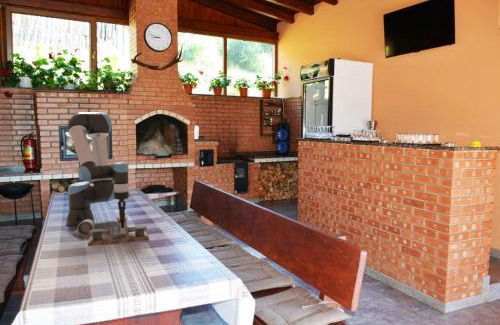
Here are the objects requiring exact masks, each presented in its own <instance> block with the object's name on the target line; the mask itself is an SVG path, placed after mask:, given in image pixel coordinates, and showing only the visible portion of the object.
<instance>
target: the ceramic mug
mask: <svg viewBox="0 0 500 325" xmlns="http://www.w3.org/2000/svg"><path fill="white" fill-rule="evenodd" d="M93 229H96V223H95V221H94V222H93V221H92V220H89V219H87V220H84V221H83V222H81V223H80V224H79V225H78V226H77V229H75V230H74V231H72V234H73V235H74V236H75V235H77V234H79V235H80V236H82V237H87V236H90V235H89V230H93Z"/></svg>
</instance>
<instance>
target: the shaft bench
mask: <svg viewBox="0 0 500 325" xmlns="http://www.w3.org/2000/svg"><path fill="white" fill-rule="evenodd" d="M147 230H148V228H147V225H143V224H141V225H139V224H138V225H134V226H128V225H127V226H126V234H120V233H119V234H118V233H117V234H112V227H111V226H109V227H108V228H104V229H102V228H94V229H93V230H89V235H88V236H89V237H88V241H87V246H99V245H108V244H120V243H131V242H140V241H141V242H144V241H149V240H150V239H149V235H148V232H147Z"/></svg>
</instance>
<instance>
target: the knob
mask: <svg viewBox="0 0 500 325" xmlns="http://www.w3.org/2000/svg"><path fill="white" fill-rule="evenodd" d="M119 220H120V217H119V216H118V217H116V222H117V232H118V233H120V222H119ZM127 221H128V217H127V216H125V231H126V226H128V222H127Z"/></svg>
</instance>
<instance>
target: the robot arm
mask: <svg viewBox="0 0 500 325" xmlns="http://www.w3.org/2000/svg"><path fill="white" fill-rule="evenodd" d="M112 127H113V124H112V120H111V117H110V115H109V114H108V113H106V112H99V111H98V112H95V111H93V112H92V111H91V112H88V111H86V112H85V111H79V112H77V113H74V114H73V115H72V116H71V117H70V119H69V120H68V123H67V127H66V128H67V129H66V130H67V132H68V135H69V137H71V139H72V142H73V145H74V150H75V153H76V156H77V159H78V162H79V165H80V166H79V167H78V169H77V174H78V175H77V176H78V179H79V181H78V182H74V183H72V184H69V186H68V189H67V194H68V213H67V217H66V219H65V220H66V221H65V224H66V225H67V226H74V227H75V226H77V227H78V225H79V224H80V223H81V222H83V221H84V220H87V219H89V220H92V221H93V222H94V223H95V217H94V214H93V211H92V207H91V204H98V203H108V202H112V201H115V200H118V201H117V207H118V211H119V212H118V213H119V214H118V215H119V216H118V217H120V220H119V222H120V232H119V234H126V231H125V217H126V212H125V211H126V205H127V204H126V200H127V199H129V198H130V191H129V187H130V186H131V184H129V164H128V162H126V161H125V162H122V161H119V162H118V161H117V162H116V161H115V162H114V163H110V164H109V153H108V152H109V151H108V140H107V139H108V138H107V137H108V136H109V134H110V132H111V131H112ZM86 133H87V134H88V136H89V137H90V138H91V146H90V144H89V143H90V142H89V141H88V137H87V134H86ZM90 181H91V182H92V183H90Z"/></svg>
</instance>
